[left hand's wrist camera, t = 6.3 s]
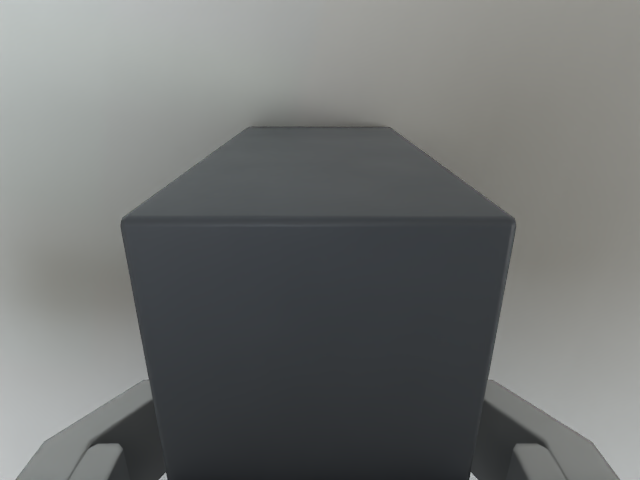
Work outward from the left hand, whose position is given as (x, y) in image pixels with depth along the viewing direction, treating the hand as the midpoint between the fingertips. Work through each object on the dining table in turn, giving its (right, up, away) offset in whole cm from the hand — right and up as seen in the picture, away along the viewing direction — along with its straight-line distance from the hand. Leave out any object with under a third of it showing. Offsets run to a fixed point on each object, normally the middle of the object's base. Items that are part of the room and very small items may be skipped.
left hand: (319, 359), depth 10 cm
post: (0, -18, +11) cm, 21 cm away
